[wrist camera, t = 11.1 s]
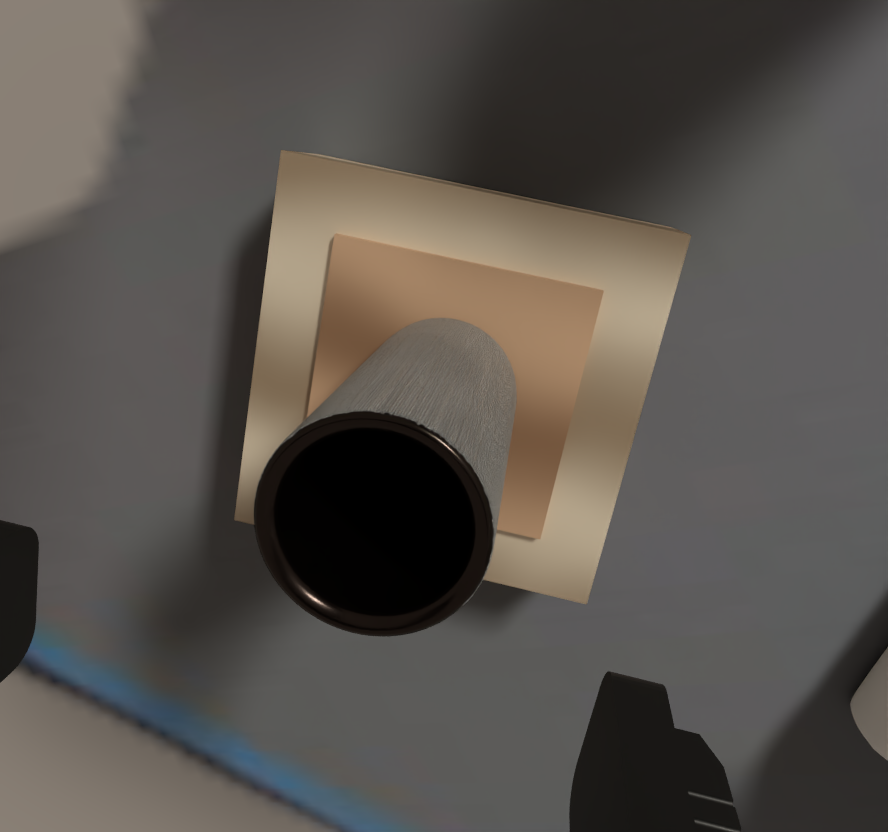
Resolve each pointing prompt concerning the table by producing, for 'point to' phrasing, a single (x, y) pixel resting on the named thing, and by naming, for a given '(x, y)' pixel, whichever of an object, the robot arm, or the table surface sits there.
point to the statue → (873, 706)
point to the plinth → (485, 306)
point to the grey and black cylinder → (394, 484)
